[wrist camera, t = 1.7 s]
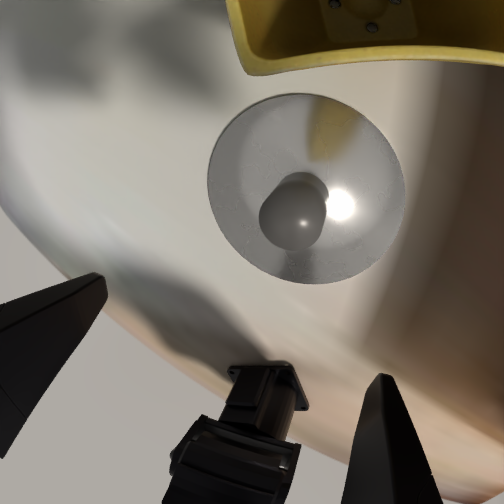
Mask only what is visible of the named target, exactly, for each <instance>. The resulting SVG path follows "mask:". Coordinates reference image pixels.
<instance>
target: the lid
mask: <svg viewBox="0 0 504 504" xmlns="http://www.w3.org/2000/svg"><path fill="white" fill-rule="evenodd" d="M208 191H209V199H210V204H211V208H212V211H213V214H214V217H215V219H216V221H217V223H218V225H219V228H220V230H221V231H222V233H223V234H224V236H225V237H226V239H227V240H228V242H229V243H230V244H231V245H232V246H233V248H234V249H235V250H236V251H237V252H238V253H239V254H240V255H241V256H242V257H243V258H245V259H246V260H247V261H248V262H250V263H251V264H252V265H254V266H256V267H257V268H259V269H260V270H262V271H264V272H266V273H268V274H270V275H272V276H275V277H277V278H280V279H283V280H287V281H291V282H295V283H302V284H327V283H333V282H338V281H341V280H344V279H347V278H350V277H353V276H355V275H357V274H359V273H361V272H362V271H364V270H366V269H367V268H369V267H370V266H371V265H373V264H374V263H375V262H376V261H377V260H378V259H380V258H381V256H382V255H383V254H384V253H385V252H386V251H387V250H388V248H389V247H390V245H391V244H392V242H393V241H394V239H395V237H396V235H397V233H398V230H399V228H400V225H401V222H402V219H403V214H404V208H405V185H404V178H403V174H402V170H401V167H400V163H399V161H398V159H397V157H396V154H395V152H394V150H393V149H392V147H391V145H390V144H389V142H388V141H387V139H386V138H385V136H384V135H383V134H382V133H381V132H380V130H379V129H378V128H377V127H376V126H375V125H374V124H373V123H372V122H370V121H369V120H368V119H367V118H366V117H365V116H363V115H362V114H360V113H359V112H357V111H356V110H354V109H353V108H351V107H349V106H347V105H344V104H342V103H340V102H338V101H335V100H331V99H328V98H325V97H319V96H313V95H288V96H281V97H277V98H273V99H269V100H266V101H264V102H262V103H259V104H257V105H255V106H253V107H252V108H250V109H248V110H247V111H245V112H244V113H242V114H241V115H240V116H239V117H238V118H236V119H235V120H234V121H233V122H232V123H231V124H230V126H229V127H228V128H227V129H226V130H225V132H224V133H223V135H222V136H221V138H220V139H219V141H218V143H217V145H216V147H215V149H214V152H213V155H212V158H211V162H210V167H209V173H208Z"/></svg>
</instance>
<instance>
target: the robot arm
mask: <svg viewBox="0 0 504 504" xmlns="http://www.w3.org/2000/svg"><path fill="white" fill-rule="evenodd" d="M107 298H108V291H107V286H106V280H105V277H104V276H103V275H100V274H98V273H96V272H93V273H89V274H86V275H83V276H80V277H78V278H75V279H72V280H69V281H66V282H63V283H60V284H57V285H54V286H51V287H48V288H45V289H43V290H40V291H37V292H34V293H31V294H29V295H26V296H23V297H20V298H17V299H14V300H12V301H9V302H7V303H6V304H5V303H3V304H0V458H1V459H3V458H4V457H5V455H6V453H7V451H8V450H9V448H10V447H11V445H12V443H13V441H14V440H15V438H16V437H17V435H18V433H19V432H20V430H21V428H22V427H23V425H24V424H25V422H26V420H27V418H28V417H29V416H30V414H31V412H32V411H33V409H34V408H35V406H36V405H37V403H38V402H39V400H40V399H41V397H42V396H43V394H44V393H45V391H46V390H47V388H48V387H49V385H50V384H51V383H52V381H53V380H54V378H55V377H56V375H57V374H58V372H59V371H60V370H61V368H62V367H63V365H64V364H65V363H66V361H67V360H68V358H69V357H70V355H71V354H72V353H73V351H74V350H75V349H76V347H77V346H78V345H79V343H80V342H81V340H82V339H83V338H84V336H85V335H86V333H87V332H88V330H89V329H90V327H91V325H92V324H93V322H94V320H95V319H96V317H97V315H98V314H99V312H100V311H101V309H102V307H103V306H104V304H105V303H106V301H107ZM227 372H228V374H229V376H230V377H231V379H232V381H233V382H234V385H233V387H232V389H231V391H230V393H229V395H228V398H227V400H226V402H225V403H226V405H225V407H224V409H223V411H222V413H221V416H220V418H219V420H218V421H217V420H214V419H211V418H208V416H205V415H203V414H202V415H201V416H200V417H199V419H198V420H196V421H195V422H194V424H193V425H192V426H191V428H190V429H189V430H188V432H187V433H186V434H185V436H184V437H183V439H182V440H181V441H180V443H179V444H178V445H177V446H176V447H175V448H174V449H173V450H172V451H171V453H170V458H171V464H170V469H169V470H170V471H169V473H170V475H171V476H173V477H172V479H171V482H170V485H169V488H168V490H167V492H166V494H165V496H164V498H163V500H162V504H284V502H285V500H286V498H287V495H288V492H289V489H290V486H291V483H292V480H293V476H294V473H295V469H296V465H297V461H298V457H299V453H300V449H301V444H298V443H295V444H293V443H290V442H286V441H285V439H286V436H287V433H288V430H289V426H290V423H291V420H292V417H293V413H294V411H307V410H308V409H309V403H308V401H307V398H306V396H305V394H304V391H303V389H302V386H301V384H300V382H299V379H298V377H297V374H296V372H295V370H294V368H293V367H291V366H230V367H229V368H228V370H227ZM279 466H283V467H284V468H280V467H279ZM431 474H432V472H431V469H430V467H429V464H428V461H427V458H426V456H425V453H424V451H423V448H422V445H421V443H420V440H419V438H418V435H417V433H416V430H415V428H414V425H413V423H412V420H411V418H410V415H409V413H408V411H407V408H406V406H405V404H404V401H403V399H402V397H401V394H400V392H399V390H398V387H397V385H396V383H395V380H394V378H393V377H392V376H391V375H388V374H384V373H379V374H378V375H377V376H376V378H375V379H374V380H373V382H372V383H371V384H370V386H369V387H368V389H367V391H366V393H365V397H364V401H363V405H362V409H361V413H360V417H359V421H358V424H357V428H356V432H355V435H354V439H353V445H352V450H351V456H350V462H349V467H348V472H347V478H346V482H345V487H344V491H343V496H342V500H341V504H443V501H442V499H441V496H440V494H439V491H438V488H437V486H436V483H435V480H434V477H433V475H431Z"/></svg>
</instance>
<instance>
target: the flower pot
mask: <svg viewBox="0 0 504 504" xmlns="http://www.w3.org/2000/svg"><path fill="white" fill-rule="evenodd" d="M330 1H331V0H225V3H226V8H227V13H228V18H229V22H230V27H231V31H232V36H233V39H234V44H235V47H236V51H237V54H238V57H239V60H240V63H241V65H242V67H243V69H244V71H245V72H246V73H247V74H248V75H251V76H268V75H273V74H278V73H283V72H288V71H294V70H303V69H309V68H315V67H322V66H329V65H338V64H347V63H357V62H369V61H388V60H431V61H452V62H464V63H476V64H488V65H497V66H504V0H400V3H399V4H393V3H391V2H390V0H338V1H339V2H340V7H338V8H332V7H331V6H330ZM369 23H374V24H376V25H377V28H378V29H377V31H376V32H370V31H368V30H367V24H369Z"/></svg>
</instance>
